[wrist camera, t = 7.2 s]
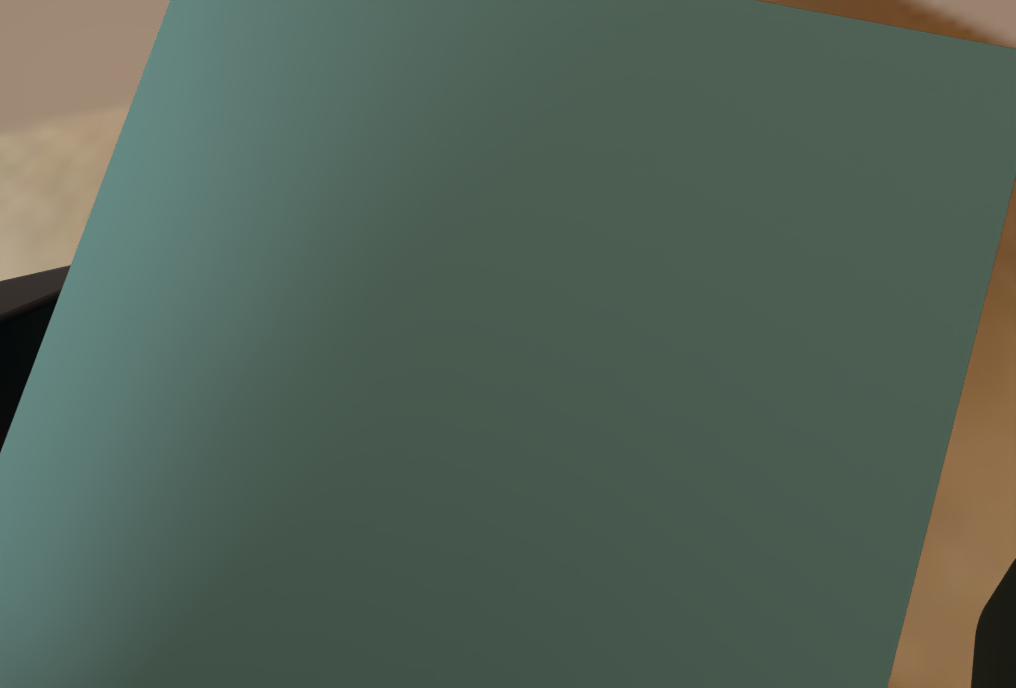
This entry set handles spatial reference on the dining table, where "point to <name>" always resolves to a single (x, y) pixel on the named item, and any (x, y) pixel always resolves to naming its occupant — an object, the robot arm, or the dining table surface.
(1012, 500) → the dining table surface
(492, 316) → the teal brick
